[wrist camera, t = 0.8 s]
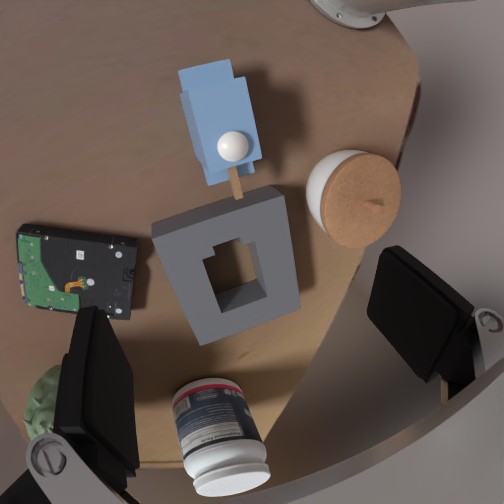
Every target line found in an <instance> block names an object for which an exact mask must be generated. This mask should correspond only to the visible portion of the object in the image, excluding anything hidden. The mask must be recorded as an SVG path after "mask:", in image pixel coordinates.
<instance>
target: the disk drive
mask: <svg viewBox="0 0 504 504" xmlns="http://www.w3.org/2000/svg"><path fill="white" fill-rule="evenodd" d="M137 247H138V240H137V239H130V238H126V237H120V236H108V235H100V234H92V233H85V232H77V231H71V230H62V229H55V228H48V227H44V226H37V225H36V226H34V225H28V224H22V225H21V226H20V227H19V229H18V230H17V231H16V252H17V261H18V262H17V267H18V272H19V277H20V281H21V282H20V285H21V292H22V296H23V299H22V300H23V303H28V305H29V306H34V307H36V308H39V309H45V310H53V311H58V312H65V313H71V314H77V313H78V310H79V308H83V307H89V306H95V305H96V306H97V307H98V308H99V310H101V309H104V310H105V312H106V314H107V317H108V318H109V319H117V320H130V316H131V301H132V291H133V280H134V271H135V263H136V255H137Z"/></svg>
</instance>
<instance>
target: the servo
mask: <svg viewBox="0 0 504 504" xmlns="http://www.w3.org/2000/svg"><path fill="white" fill-rule="evenodd" d="M178 75H179V79H180V83H181V87H182V90H183V92H182V93H181V94H180V98H181V102H182V106H183V110H184V114H185V118H186V121H187V125H188V129H189V133H190V136H191V140H192V144H193V147H194V151H195V155H196V158H197V159H198V160H199V161H200V163H201V164H202V167H203V170H204V174H205V177H206V181H207V184H208V186H211V185H214V184H217V183H220V182H224V181H227V180H230V183H231V187H232V191H233V195H234V198H235V199H236V200H238V199H241V198H243V194H242V190H241V185H240V181H239V177H240V176H244V175H247V174H250V173H254V172H255V171H254V166H253V162H252V161H255V160H258V159H262V154H261V149H260V144H259V140H258V135H257V130H256V125H255V120H254V116H253V111H252V106H251V102H250V97H249V93H248V88H247V84H246V79H245V76H244V77H239V78H234V76H233V71H232V67H231V63H230V59H227V60H222V61H217V62H212V63H208V64H203V65H199V66H195V67H191V68H187V69H183V70H179V71H178Z"/></svg>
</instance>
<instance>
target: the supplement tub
mask: <svg viewBox="0 0 504 504" xmlns="http://www.w3.org/2000/svg"><path fill="white" fill-rule="evenodd" d="M172 409H173V413H174V419H175V424H176V429H177V434H178V439H179V444H180V448H181V453H182V457H183V461H184V467H185V469H186V471H187V473H188V474H189V475H190V476H191V477H192V478H194V479H195V480H194V482H193V484H194V486H195V488H196V491H197V493H198V494H200V495H203V496H226V495H232V494H236V493H240V492H244V491H247V490H250V489H252V488H255V487H257V486H259V485H261V484H263V483H264V482H266V481H267V480H268V479H269V478H270V472H269V468H268V465H267V464H265V463H264V461H265V459H266V449H265V446H264V445H263V442H262V440H261V437H260V435H259V433H258V430H257V428H256V425H255V423H254V420H253V418H252V416H251V413H250V411H249V408H248V406H247V403H246V401H245V398H244V395H243V392H242V390H241V389H240V387H239V386H238V385H237V384H235V383H234V382H232V381H230V380H227V379H222V378H206V379H201V380H197V381H194V382H191V383H189V384H187V385H185V386H183V387H182V388H181V389H179V390H178V391H177V393H176V394H175V395H174V397H173V400H172Z"/></svg>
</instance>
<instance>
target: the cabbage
mask: <svg viewBox="0 0 504 504" xmlns="http://www.w3.org/2000/svg"><path fill="white" fill-rule="evenodd" d="M61 366H62V364H61V365H56V366H54V367H52V368H51V369H50V370H48V371H47V372H46V373H45V374H44V375H43V376H42V377H41V378H40V379H39V380H38V381H37V382H36V384H35V385H34V387H33V388H32V390H31V392H30V394H29V396H28V399H27V403H26V409H25V413H24V419H23V421H24V422H25V425H26V428H27V432H28V434H29V437H30V439H31V441H32V440H33V439H34V438H35V437H37V436H39V435H40V434H43V433H53V423H54V413H55V405H56V397H57V390H58V383H59V377H60V371H61Z"/></svg>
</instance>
